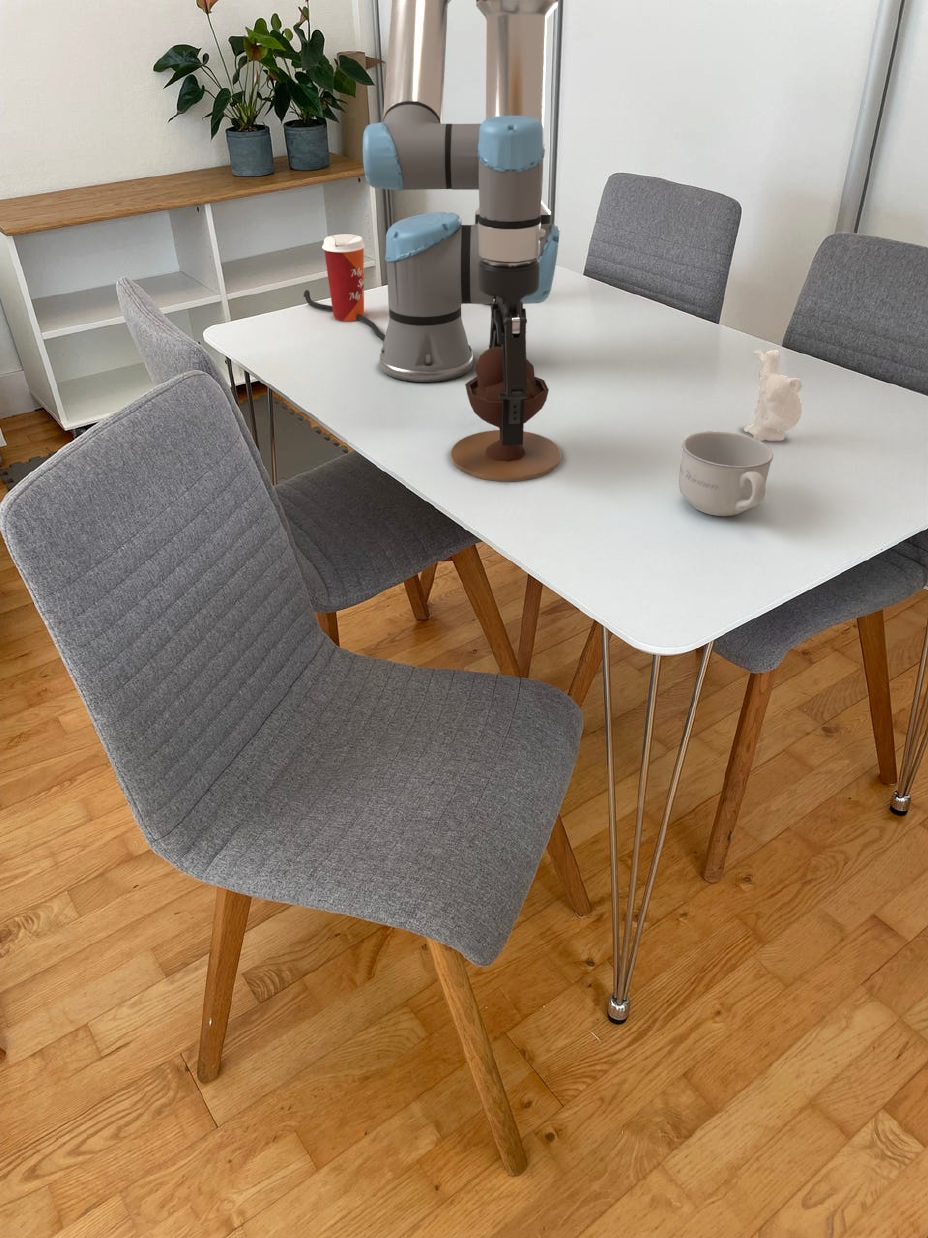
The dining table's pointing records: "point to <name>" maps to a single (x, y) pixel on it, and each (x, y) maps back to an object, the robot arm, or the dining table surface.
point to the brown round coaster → (533, 464)
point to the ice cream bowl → (489, 407)
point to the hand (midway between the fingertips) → (506, 425)
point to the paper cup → (345, 275)
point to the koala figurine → (775, 400)
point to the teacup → (723, 472)
